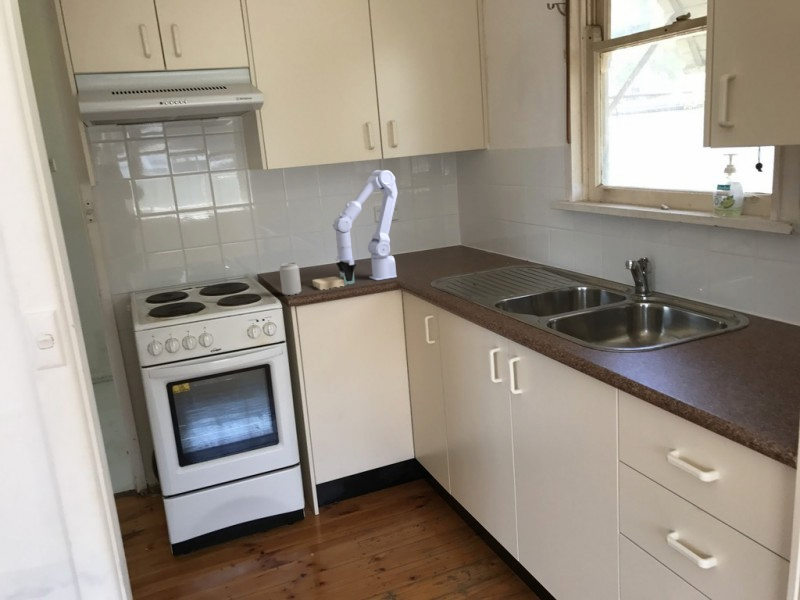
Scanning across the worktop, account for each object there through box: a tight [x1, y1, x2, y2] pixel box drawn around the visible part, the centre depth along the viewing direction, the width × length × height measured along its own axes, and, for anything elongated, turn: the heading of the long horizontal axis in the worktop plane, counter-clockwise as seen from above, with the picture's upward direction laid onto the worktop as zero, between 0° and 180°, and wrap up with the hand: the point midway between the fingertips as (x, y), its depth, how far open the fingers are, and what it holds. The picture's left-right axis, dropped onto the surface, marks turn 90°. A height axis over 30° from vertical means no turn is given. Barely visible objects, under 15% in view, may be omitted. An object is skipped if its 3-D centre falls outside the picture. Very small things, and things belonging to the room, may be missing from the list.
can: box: [278, 262, 302, 296], centre depth 257 cm, size 8×8×12 cm
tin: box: [339, 270, 356, 286], centre depth 269 cm, size 4×4×5 cm
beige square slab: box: [311, 276, 345, 291], centre depth 267 cm, size 10×10×3 cm
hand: (347, 280), depth 269 cm, fingers closed on tin, 4 cm apart
